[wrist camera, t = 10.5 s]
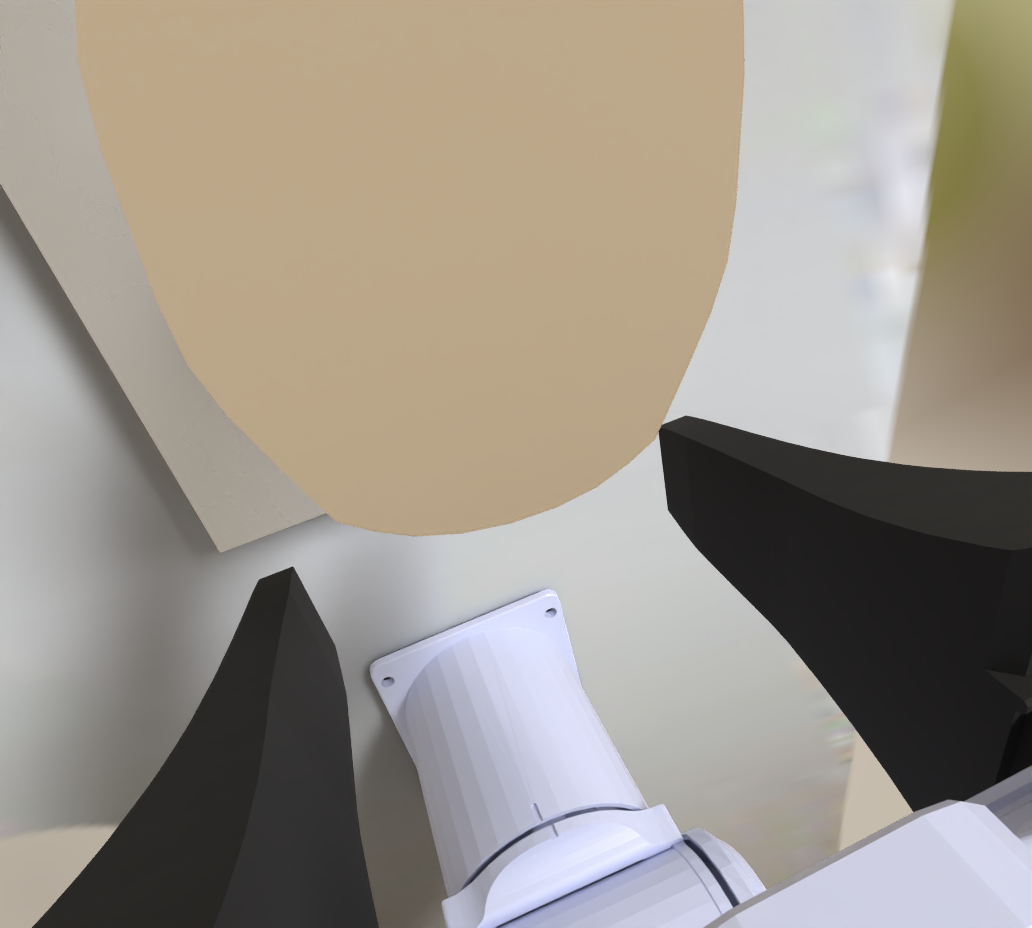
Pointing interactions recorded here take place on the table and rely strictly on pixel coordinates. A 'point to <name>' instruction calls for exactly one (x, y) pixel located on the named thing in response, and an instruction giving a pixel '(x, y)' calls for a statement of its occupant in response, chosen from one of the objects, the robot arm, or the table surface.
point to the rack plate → (120, 279)
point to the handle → (428, 230)
